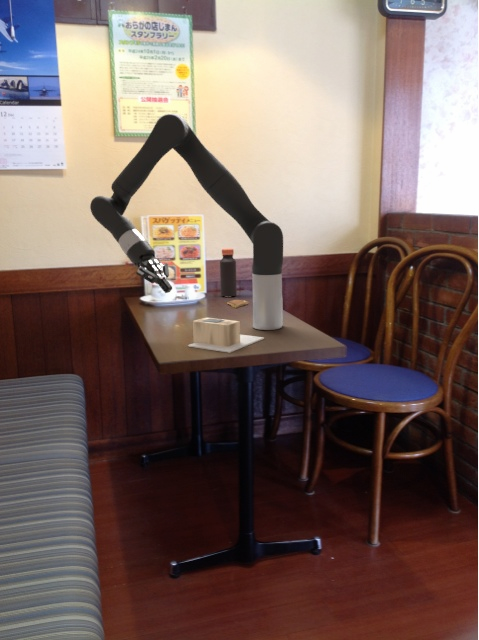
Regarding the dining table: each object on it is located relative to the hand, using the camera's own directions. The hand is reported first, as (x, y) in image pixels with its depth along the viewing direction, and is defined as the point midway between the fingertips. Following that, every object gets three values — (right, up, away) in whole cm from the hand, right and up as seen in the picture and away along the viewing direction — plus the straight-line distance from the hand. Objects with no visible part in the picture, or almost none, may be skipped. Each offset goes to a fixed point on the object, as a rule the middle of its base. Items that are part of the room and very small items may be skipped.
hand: (169, 290), depth 168 cm
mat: (+17, -15, -6) cm, 24 cm away
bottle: (+16, +1, +75) cm, 77 cm away
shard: (+21, -4, +54) cm, 58 cm away
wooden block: (+9, -11, -4) cm, 15 cm away
